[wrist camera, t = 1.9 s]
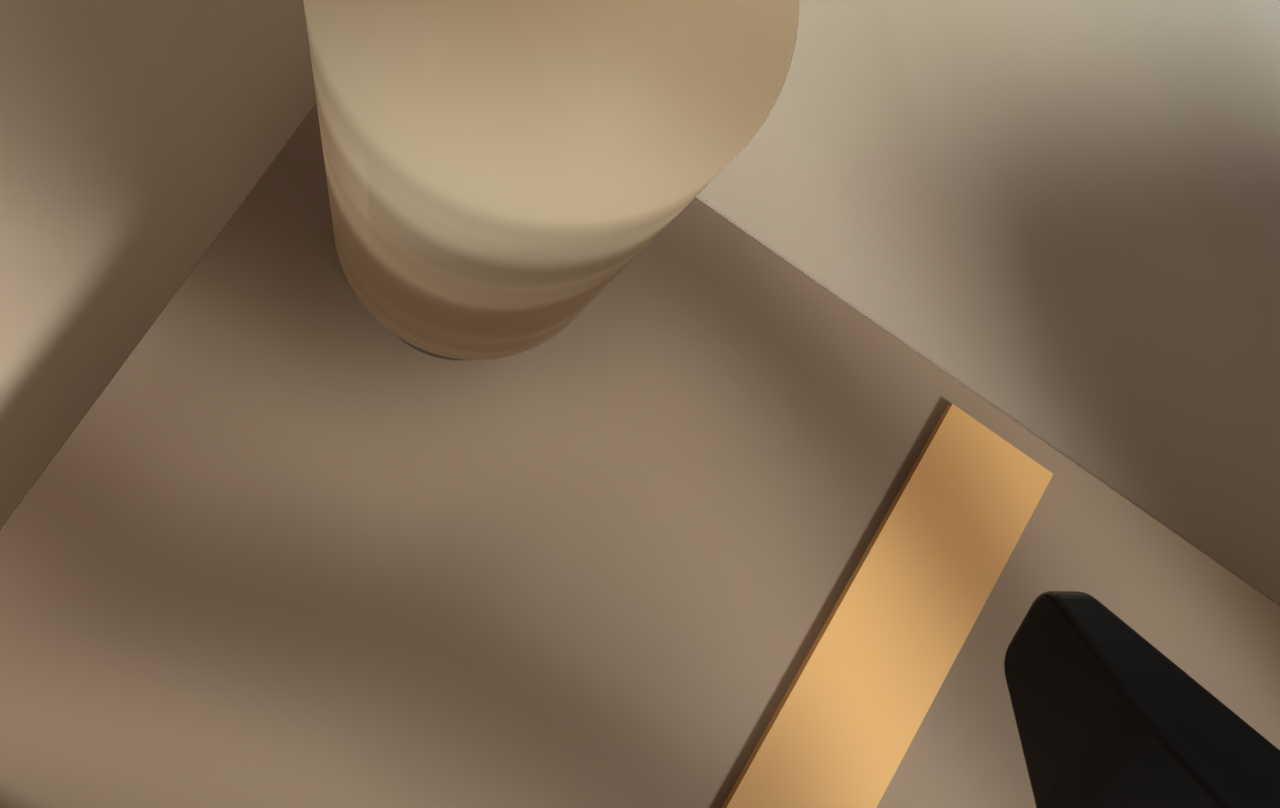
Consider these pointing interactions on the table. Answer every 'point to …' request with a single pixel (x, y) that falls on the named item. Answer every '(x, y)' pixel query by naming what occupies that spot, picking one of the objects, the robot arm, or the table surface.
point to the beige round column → (525, 147)
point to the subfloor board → (556, 553)
